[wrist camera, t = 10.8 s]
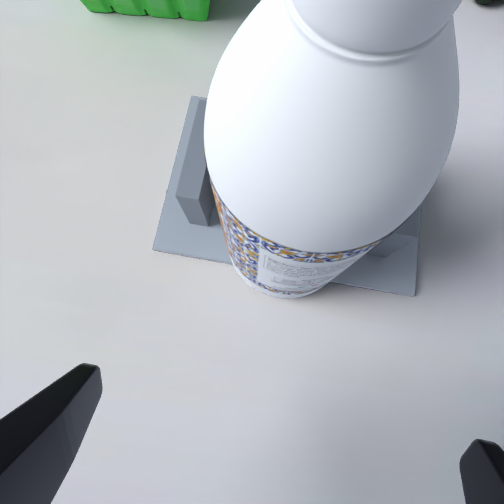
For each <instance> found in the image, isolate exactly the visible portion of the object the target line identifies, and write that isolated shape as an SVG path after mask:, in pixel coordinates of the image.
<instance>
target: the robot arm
mask: <svg viewBox="0 0 504 504" xmlns="http://www.w3.org/2000/svg"><path fill="white" fill-rule="evenodd" d="M101 394H102V380H101V372H100V368H99V367H98V366H97V365H92V364H87V363H82V364H80V365H78V366H77V367H75V368H74V369H72V370H71V371H69V372H68V373H66V374H65V375H64V376H62V377H61V378H59V379H58V380H56V381H55V382H53V383H52V384H51V385H49V386H48V387H46V388H45V389H43V390H42V391H40V392H39V393H38V394H36V395H35V396H33V397H32V398H30V399H29V400H28V401H26V402H25V403H23V404H22V405H20V406H19V407H17V408H16V409H15V410H13V411H12V412H10V413H9V414H7V415H6V416H4V417H3V418H2V419H0V504H51V502H52V500H53V498H54V496H55V495H56V493H57V491H58V489H59V487H60V485H61V484H62V482H63V480H64V478H65V476H66V474H67V472H68V471H69V469H70V467H71V465H72V463H73V461H74V459H75V456H76V454H77V452H78V450H79V447H80V445H81V443H82V440H83V438H84V435H85V433H86V431H87V428H88V426H89V424H90V421H91V419H92V416H93V414H94V412H95V409H96V407H97V405H98V402H99V400H100V397H101ZM460 473H461V479H462V484H463V490H464V496H465V501H466V504H504V451H503V450H502V448H501V447H500V446H499V445H497V444H496V443H494V442H491V441H486V440H481V439H476V440H474V441H473V442H472V443H471V445H470V446H469V447H468V449H467V450H466V451H465V453H464V454H463V455H462V457H461V459H460Z"/></svg>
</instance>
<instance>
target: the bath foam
mask: <svg viewBox="0 0 504 504" xmlns="http://www.w3.org/2000/svg"><path fill="white" fill-rule="evenodd" d="M461 2H462V0H261V1H260V2H259V3H258V5H257V6H256V7H255V8H254V9H253V11H252V12H251V13H250V14H249V16H248V17H247V18H246V19H245V21H244V22H243V23H242V25H241V26H240V27H239V29H238V30H237V32H236V33H235V35H234V36H233V38H232V39H231V41H230V43H229V44H228V46H227V48H226V50H225V52H224V54H223V56H222V57H221V59H220V61H219V64H218V66H217V69H216V71H215V74H214V77H213V80H212V83H211V86H210V90H209V94H208V99H207V104H206V111H205V120H204V155H205V162H206V167H207V171H208V175H209V179H210V183H211V187H212V190H213V194H214V198H215V202H216V206H217V210H218V214H219V217H220V221H221V225H222V229H223V233H224V237H225V240H226V244H227V248H228V251H229V254H230V258H231V261H232V263H233V265H234V267H235V269H236V271H237V272H238V274H239V275H240V276H241V277H242V279H243V280H244V281H245V282H246V283H247V284H249V285H250V286H251V287H253V288H254V289H256V290H258V291H260V292H262V293H264V294H267V295H270V296H273V297H277V298H298V297H302V296H306V295H308V294H311V293H313V292H315V291H317V290H318V289H320V288H322V287H323V286H324V285H326V284H327V283H329V282H330V281H331V280H332V279H334V278H335V277H336V276H338V275H339V274H340V273H341V272H343V271H344V270H345V269H347V268H348V267H349V266H350V265H352V264H353V263H354V262H356V261H357V260H358V259H359V258H361V257H362V256H363V255H364V254H366V253H367V252H368V251H370V250H371V249H372V248H373V247H375V246H376V245H377V244H379V243H380V242H381V241H382V240H384V239H385V238H386V237H387V236H389V235H390V234H391V233H393V232H394V231H395V230H396V229H398V228H399V227H400V226H401V225H402V224H403V223H404V222H405V221H406V220H407V219H408V218H409V217H410V216H411V215H412V214H413V213H414V212H415V211H416V210H417V209H416V208H417V207H418V206H419V205H420V204H421V202H422V201H423V200H424V198H425V197H426V196H427V194H428V193H429V191H430V190H431V188H432V186H433V185H434V183H435V181H436V180H437V178H438V176H439V174H440V172H441V170H442V168H443V166H444V163H445V161H446V159H447V156H448V154H449V151H450V148H451V144H452V141H453V138H454V134H455V129H456V123H457V116H458V109H459V69H458V58H457V48H456V39H455V30H454V21H453V14H454V12H455V11H456V9H457V8H458V6H459V5H460V3H461Z"/></svg>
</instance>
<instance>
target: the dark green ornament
mask: <svg viewBox="0 0 504 504" xmlns="http://www.w3.org/2000/svg"><path fill="white" fill-rule="evenodd" d="M476 1H477V2H478V3H481V4H488V3H490V2H491V1H493V0H476Z"/></svg>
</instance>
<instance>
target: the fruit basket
mask: <svg viewBox="0 0 504 504" xmlns="http://www.w3.org/2000/svg"><path fill="white" fill-rule="evenodd" d="M80 1H81V2H82V3H83V4H84V5H85V6H86V7H87V9H88V10H89V11H93V12H104V13H109V12H113V11H116V12H117V13H120V14H127V15H139V16H141V15H146V14H147V13H148V14H149V15H151V16H154V17H162V18H172V19H173V18H179V17H180V16H181V17H182V18H184V19H187V20H196V21H206V20H207V18H208V12H209V5H210V0H80Z"/></svg>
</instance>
